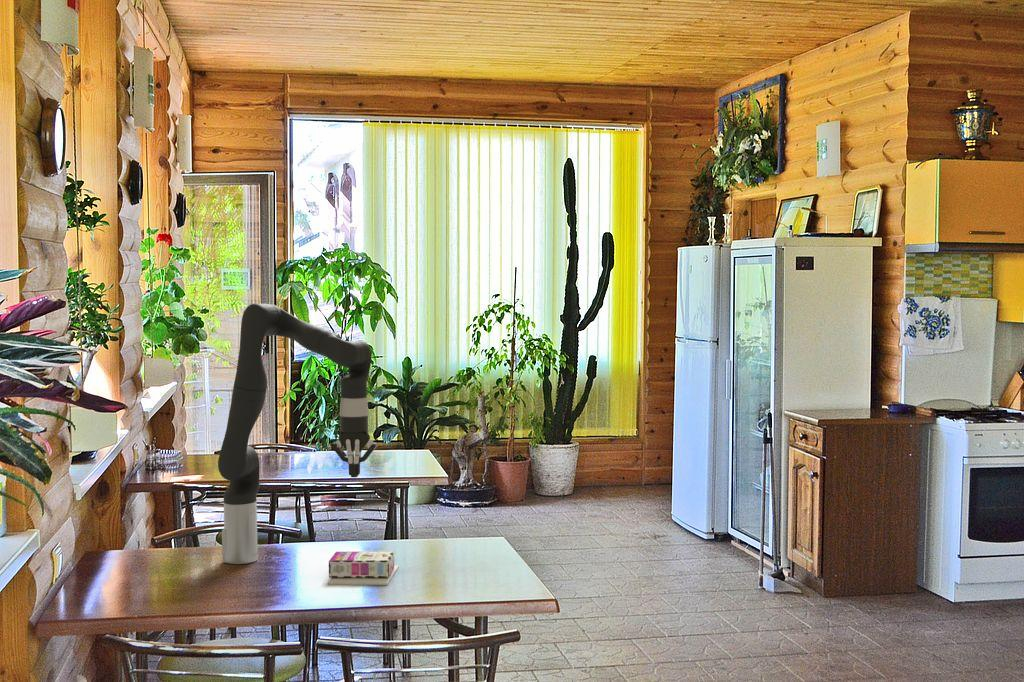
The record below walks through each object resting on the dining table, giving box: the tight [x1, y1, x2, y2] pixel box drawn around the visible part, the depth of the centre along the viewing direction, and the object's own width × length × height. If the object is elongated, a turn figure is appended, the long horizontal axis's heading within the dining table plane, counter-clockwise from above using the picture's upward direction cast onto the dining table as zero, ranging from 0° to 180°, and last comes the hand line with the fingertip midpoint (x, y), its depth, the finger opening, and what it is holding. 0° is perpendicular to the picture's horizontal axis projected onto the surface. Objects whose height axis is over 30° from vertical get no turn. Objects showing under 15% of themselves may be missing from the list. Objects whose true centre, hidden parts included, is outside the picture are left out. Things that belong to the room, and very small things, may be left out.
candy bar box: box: [328, 550, 395, 579], centre depth 296 cm, size 11×5×16 cm
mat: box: [327, 564, 400, 586], centre depth 296 cm, size 16×18×1 cm
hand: (354, 476), depth 295 cm, fingers closed
